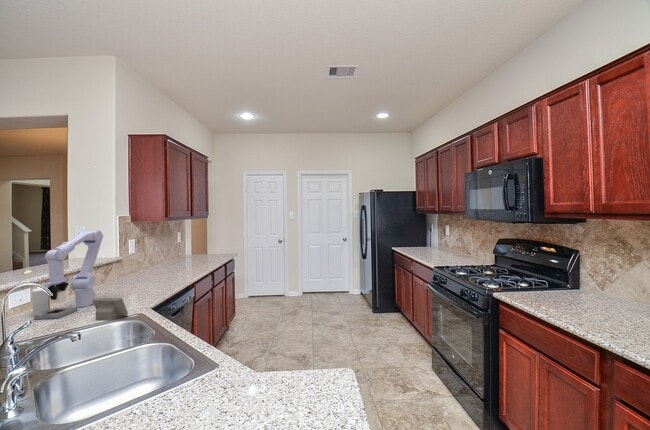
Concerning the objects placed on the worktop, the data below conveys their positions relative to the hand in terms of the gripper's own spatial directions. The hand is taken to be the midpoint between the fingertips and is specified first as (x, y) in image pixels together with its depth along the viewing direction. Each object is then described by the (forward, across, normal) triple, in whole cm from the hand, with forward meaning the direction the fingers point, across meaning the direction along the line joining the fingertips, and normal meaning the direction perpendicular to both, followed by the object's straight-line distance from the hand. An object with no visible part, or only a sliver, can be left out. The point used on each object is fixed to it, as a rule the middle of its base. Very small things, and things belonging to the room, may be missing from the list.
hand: (57, 298), depth 155 cm
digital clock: (+9, -8, -31) cm, 34 cm away
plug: (+2, 0, 0) cm, 2 cm away
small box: (+9, +5, +12) cm, 16 cm away
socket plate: (+9, 0, +1) cm, 9 cm away
